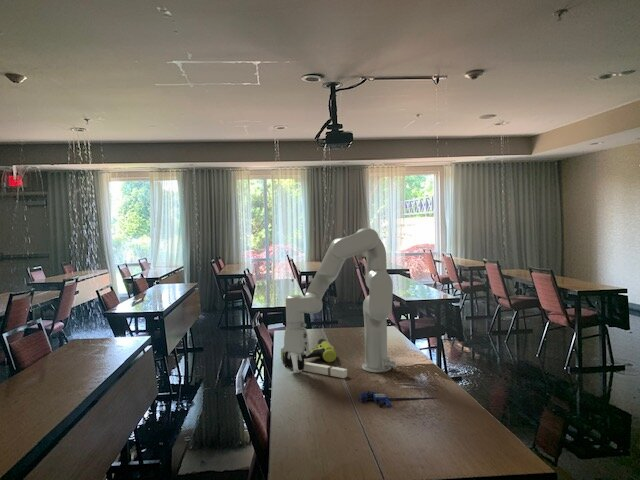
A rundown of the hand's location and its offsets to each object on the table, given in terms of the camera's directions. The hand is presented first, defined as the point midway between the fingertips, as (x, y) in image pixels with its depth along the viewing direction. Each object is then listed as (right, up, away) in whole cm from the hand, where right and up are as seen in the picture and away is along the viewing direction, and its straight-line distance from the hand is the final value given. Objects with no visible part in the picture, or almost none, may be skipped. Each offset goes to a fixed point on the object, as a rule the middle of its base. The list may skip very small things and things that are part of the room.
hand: (296, 367), depth 185 cm
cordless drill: (+4, -2, +22) cm, 22 cm away
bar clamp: (+40, -3, -32) cm, 51 cm away
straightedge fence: (+9, -2, 0) cm, 9 cm away
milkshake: (0, -2, 0) cm, 2 cm away
